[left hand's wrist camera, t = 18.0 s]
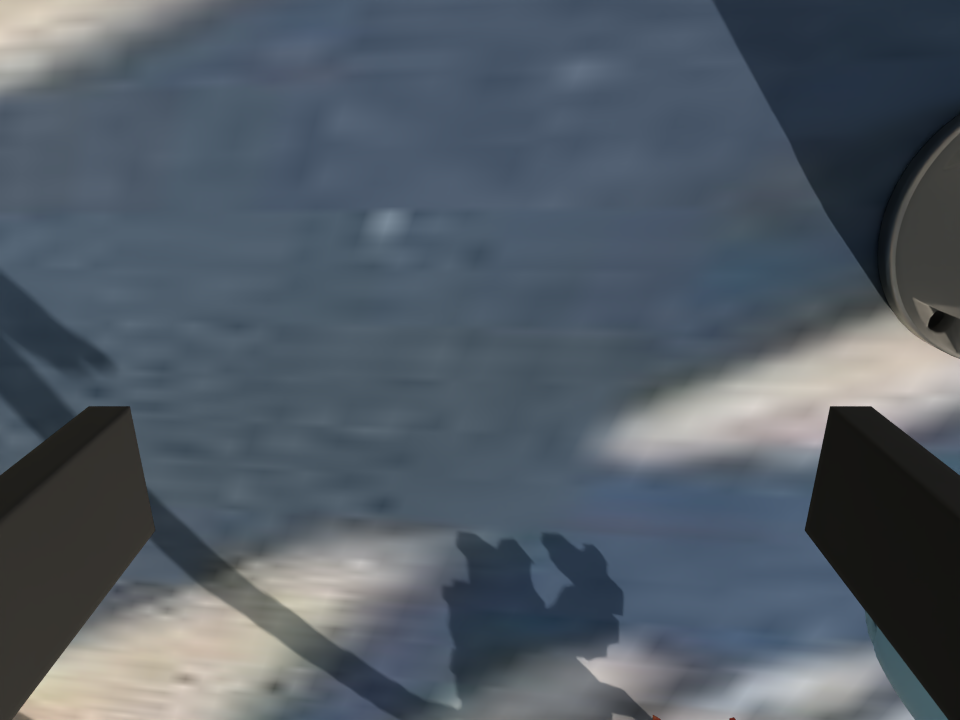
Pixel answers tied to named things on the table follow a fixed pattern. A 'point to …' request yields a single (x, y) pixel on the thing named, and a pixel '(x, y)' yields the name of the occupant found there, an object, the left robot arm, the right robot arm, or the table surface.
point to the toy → (656, 719)
